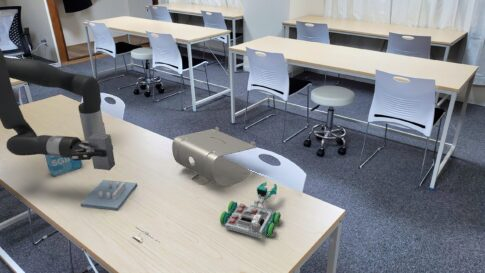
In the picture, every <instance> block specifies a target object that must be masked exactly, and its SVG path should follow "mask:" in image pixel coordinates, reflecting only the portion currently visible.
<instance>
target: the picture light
mask: <svg viewBox="0 0 485 273" xmlns="http://www.w3.org/2000/svg"><path fill="white" fill-rule="evenodd" d="M133 227H134V228H136V229H138V230H139V231H141V232H140V233H139V235H138V236H137V235H134V236H132V238H134V239H136V240H137V241H139V242H140V243H141V244H142V243H143V242H144V241H143V239H142V236H143V234H145V235H147V236H148V237H150V239H153V240H154V239H155V240H154V241H156V242H157V241H158V242H157V243H159V244H162V243H161V242H162V241H161V240H159V239H158V238H156V237H154V236H153V235H151V234H150V233H149V232H148V231H146V230H144V229H142V228H141V227H139V226H138V225H136V224H134V225H133ZM142 233H143V234H142Z"/></svg>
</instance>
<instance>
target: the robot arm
mask: <svg viewBox="0 0 485 273" xmlns="http://www.w3.org/2000/svg"><path fill="white" fill-rule="evenodd" d="M11 79H13V80H17V81H20V82H24V83H29V84H31V85H36V86H39V87H45V88H55V89H61V90H65V91H67V92H69V93H71V94H75V95H76V96H80V97H82V102H81V103H80V104H78V113H79V118H80V123H81V126H82V132H83V137H84V140H81V138H79V137H77V136H67V135H48V134H43V135H42V134H41V135H38V134H37V133H36V132H35V130H34V129H33V128H32V126H31V125H30V124H29V122H27V120H26V119H25V117H24V115H23V112H22V110H21V108H20V105H19V104H18V101H17V98H16V96H15V93H14V89H13V87H12V83H11ZM101 94H102V93H101V86H100V83H99V81H98V79H97V78H96V77H94V76H90V75H86V74H80V73H79V74H78V73H71V72H67V71H64V70H61V69H59V68H58V67H56V66H54V65H52V64H49V63H46V62H43V61H41V60H36V59H31V58H30V59H29V58H20V57H19V58H17V57H7V56H5V55H4V53H3V50H2V49H1V48H0V122H1V124H2V127H3V128H4V129H5V130H13V131H15V133H16V134H15V135H13V136H11V137H9V138H8V140H7V141H6V145H5V146H6V149H7V150H8V151H9V152H10V153H11V154H13V155H15V156H19V157H20V156H36V155H42V156H43V155H44V156H45V155H52V156H56V157H66V158H73V161H76V160H81V161H89V160H92V157H96V156H98V157H106V156H107V154H106V151H103V150H94V149H90V145H89V140H88V138H89V137H90V136H91V135H93V134H94V133H98V134H107V132H106V131H107V130H106V126H105V123H104V121H103V115H102V109H101V108H102V107H101V105H102V96H101ZM112 148H113V149H114V146H113V144H112Z"/></svg>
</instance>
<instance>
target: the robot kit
mask: <svg viewBox="0 0 485 273" xmlns="http://www.w3.org/2000/svg"><path fill="white" fill-rule="evenodd" d="M267 184H268V183H267V181H265V182H263V183H260V184H259V185H258V186H257V187H256V193H257V197H258V199H257V200H254V201H253V202H254V204H250V205H246V204H245V203H241V202H240V203H239V204H238V202H236V201H233V200H231V201H229V203H228V206H227V211H226V210H224V211H222V212H221V214H220V217H219V222H220V224H221V225H224V226H225V229H227V230H231V231H234V232H238V233H241V234H246V235H249V236H251V237H255V238H259V239H260V238H261V237H262V235H263V233H264V235H265V236H267V237H268V238H271V237H273V236H274V234H275V230H276V229H275V228H276V226H278V225H279V224H280V221H281V217H282V216H281V213H280V212H276V211H274V212H273V210H272V209H270V208H269V209H268V208H267V200H268V199H269V198H271V197H272V196H273V195H277V188H278V186H277V184H276V183H274V184H273V187H272V188H271V190H268V187H266V186H268V185H267ZM259 205H260V206H259ZM262 216H264V217H265V216H266V218H265V219H264V218H262ZM267 234H268V235H267ZM272 235H273V236H272Z"/></svg>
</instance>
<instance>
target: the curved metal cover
mask: <svg viewBox="0 0 485 273" xmlns="http://www.w3.org/2000/svg"><path fill="white" fill-rule="evenodd" d="M256 148H257V146H256V142H255V141H250V143H249V142H246V141H244V140H241V139H239V138H237V137H234V136H231V135H230V134H226V132H222V131H220V128H219V127H217V126H215V127H214V128H210V129H206V130H201V131H197V132H191V133H188V134H183V135H178V136H176V137H174V139H173V140H172V145H171V150H172V151H171V153H172V156H173V159H174V160H175V162H176V163H177V164H178V165H180V166H182V167H184V168H186V169H188V170H190V171H191V172H193V173H196V174H195V175H194V176H192V177H191V179H190V180H191V181H192V182H195V183H196V184H197V185H201V186H203V185H206V184H208V183H210V182H212V183H213V184H215V185H217V186H219V187H231V186H233V185H235V184H237V183H239V182H241V181H243V180H244V179H247V178H248V177H250V175H251V174H252V171H251V170H250V169H248V168H246V167H245V166H244V165H241V164H240V163H238V162H235V161H234V160H231V159H229V158H227V157H224V156H228V155H231V154H236V153H241V152H244V151H249V150H252V149H256ZM190 158H192V159H193V162H190V161H191V160H190Z"/></svg>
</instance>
